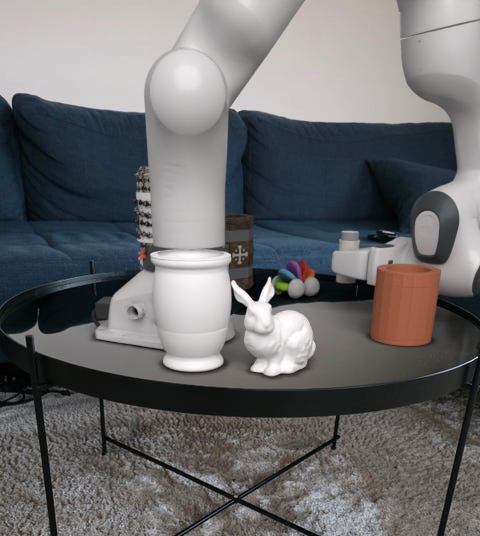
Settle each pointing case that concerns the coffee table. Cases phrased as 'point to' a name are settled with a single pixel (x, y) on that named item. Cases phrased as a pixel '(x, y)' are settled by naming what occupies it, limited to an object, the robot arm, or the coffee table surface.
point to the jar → (191, 306)
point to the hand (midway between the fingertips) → (344, 254)
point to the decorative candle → (143, 210)
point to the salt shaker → (346, 243)
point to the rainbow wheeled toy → (296, 280)
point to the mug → (240, 248)
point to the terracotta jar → (404, 304)
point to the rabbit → (275, 334)
